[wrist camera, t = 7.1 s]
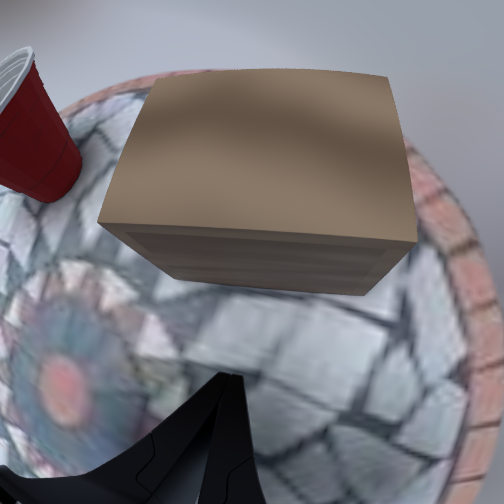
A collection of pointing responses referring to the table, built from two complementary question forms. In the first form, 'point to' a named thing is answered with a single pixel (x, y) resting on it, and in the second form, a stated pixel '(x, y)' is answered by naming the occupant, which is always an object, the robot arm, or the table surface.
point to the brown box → (266, 180)
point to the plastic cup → (33, 134)
